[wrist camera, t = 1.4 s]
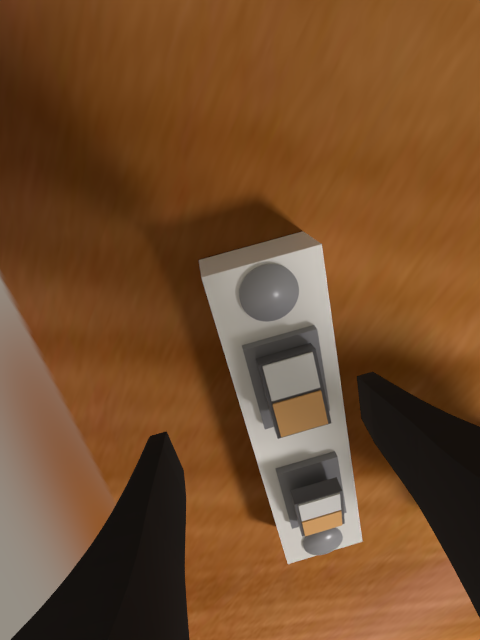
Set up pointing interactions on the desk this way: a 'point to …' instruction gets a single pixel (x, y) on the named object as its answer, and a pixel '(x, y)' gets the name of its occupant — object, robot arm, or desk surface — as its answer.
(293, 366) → the rocker
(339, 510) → the rocker
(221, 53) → the desk surface
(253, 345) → the rocker switch panel
